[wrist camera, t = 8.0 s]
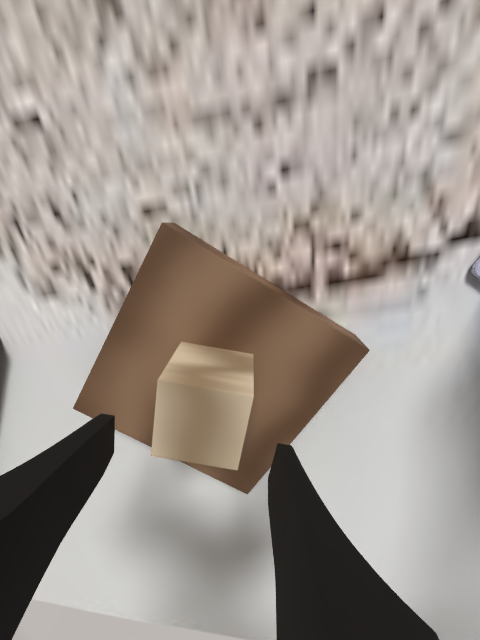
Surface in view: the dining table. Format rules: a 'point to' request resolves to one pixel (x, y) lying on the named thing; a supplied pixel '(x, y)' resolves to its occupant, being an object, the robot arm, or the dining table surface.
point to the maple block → (203, 406)
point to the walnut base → (220, 332)
